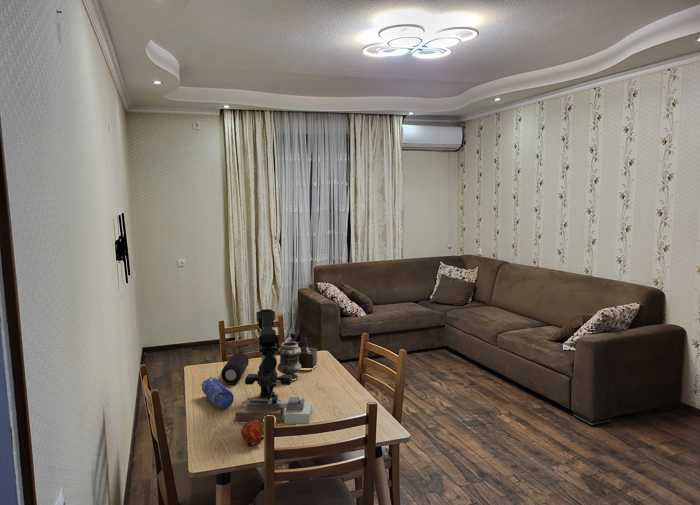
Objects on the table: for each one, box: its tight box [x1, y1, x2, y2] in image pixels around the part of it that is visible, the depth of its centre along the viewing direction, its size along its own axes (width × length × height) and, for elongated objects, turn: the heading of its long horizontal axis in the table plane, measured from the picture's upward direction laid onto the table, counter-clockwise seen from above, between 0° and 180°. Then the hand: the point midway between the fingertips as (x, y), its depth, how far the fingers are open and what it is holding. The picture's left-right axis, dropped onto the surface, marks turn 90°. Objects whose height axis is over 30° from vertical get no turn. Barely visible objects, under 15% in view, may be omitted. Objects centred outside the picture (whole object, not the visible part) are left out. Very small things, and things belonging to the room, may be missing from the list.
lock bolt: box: [267, 393, 289, 409], centre depth 212 cm, size 12×2×5 cm, turn 88°
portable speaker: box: [220, 352, 249, 385], centre depth 261 cm, size 26×10×10 cm, turn 1°
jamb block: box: [283, 396, 313, 424], centre depth 212 cm, size 12×10×8 cm
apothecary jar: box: [277, 341, 301, 379], centre depth 259 cm, size 12×12×18 cm
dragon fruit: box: [240, 420, 265, 447], centre depth 189 cm, size 8×8×12 cm
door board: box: [234, 399, 285, 424], centre depth 212 cm, size 12×18×6 cm, turn 88°
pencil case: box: [201, 376, 235, 411], centre depth 227 cm, size 22×9×10 cm, turn 31°
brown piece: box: [289, 331, 318, 368], centre depth 277 cm, size 16×11×18 cm
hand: (269, 399), depth 212 cm, fingers closed
